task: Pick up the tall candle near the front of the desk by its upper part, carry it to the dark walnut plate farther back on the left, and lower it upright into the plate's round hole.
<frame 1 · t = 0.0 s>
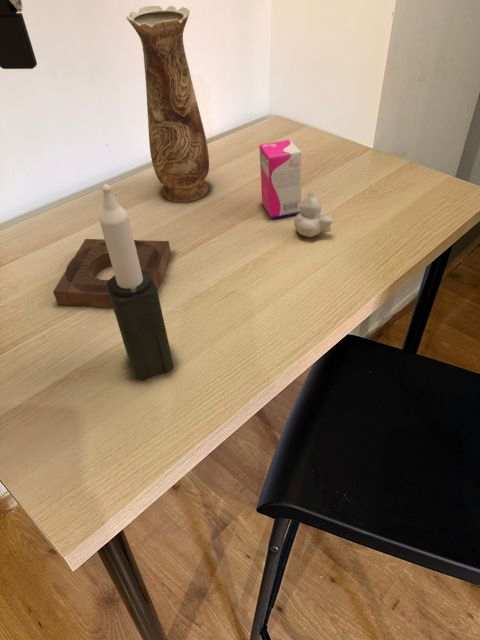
white animal figurine: (312, 235, 90), on the table
supplement box: (281, 210, 96), on the table
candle: (151, 364, 69), on the table
hole plate: (117, 278, 83), on the table
vase: (185, 192, 102), on the table
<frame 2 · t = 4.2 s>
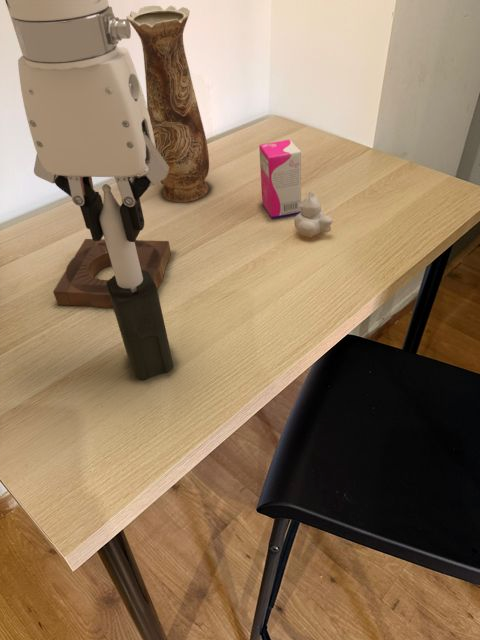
hand: (117, 232, 55), 20 cm above the table, tool pointing down, fingers closed on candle, 3 cm apart
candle: (151, 364, 69), on the table, touching gripper
everything else where it was.
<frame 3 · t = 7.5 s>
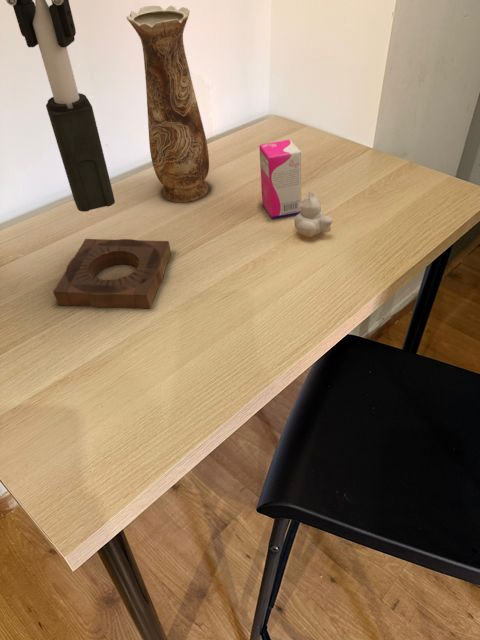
hand: (51, 42, 60), 33 cm above the table, tool pointing down, fingers closed on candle, 3 cm apart
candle: (94, 202, 74), point 13 cm above the table, touching gripper
everything else where it was.
when the fingers open (20 cm above the table, at t = 11.1 s): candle stays where it is, resting in hole plate.
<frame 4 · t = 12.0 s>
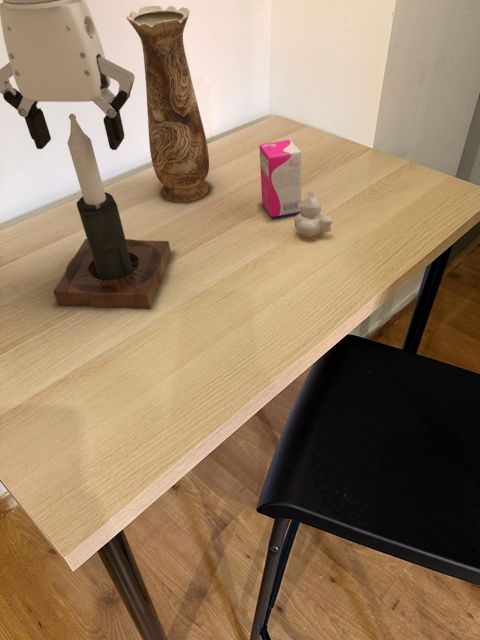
hand: (80, 145, 68), 21 cm above the table, tool pointing down, fingers open, 9 cm apart
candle: (117, 279, 83), resting in hole plate
everything else where it was.
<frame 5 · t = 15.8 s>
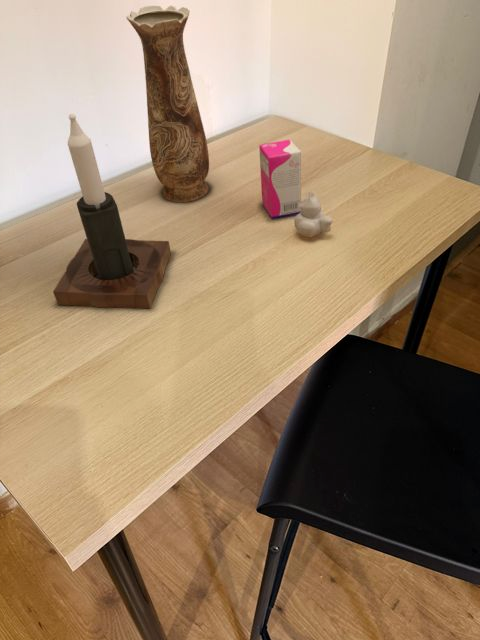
nothing on the table moved.
at the end: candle 0.1 cm off-centre in the hole plate, point 0.0 cm above the hole plate's base; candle tilted 0°; the gripper is holding nothing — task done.
